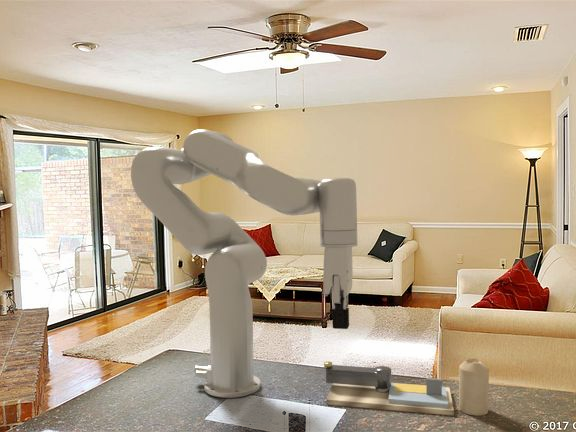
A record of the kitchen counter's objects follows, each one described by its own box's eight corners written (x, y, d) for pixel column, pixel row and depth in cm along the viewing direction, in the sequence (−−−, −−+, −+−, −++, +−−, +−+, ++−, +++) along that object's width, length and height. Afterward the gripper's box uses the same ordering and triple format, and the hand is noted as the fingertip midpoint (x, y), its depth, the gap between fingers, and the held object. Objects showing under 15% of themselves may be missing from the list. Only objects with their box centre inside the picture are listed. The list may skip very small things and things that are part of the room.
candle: (490, 417, 99) (491, 365, 98) (460, 414, 100) (461, 364, 99) (485, 405, 104) (486, 356, 103) (457, 403, 105) (457, 355, 105)
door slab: (388, 402, 103) (388, 383, 103) (390, 386, 112) (390, 368, 112) (448, 407, 100) (448, 387, 100) (445, 390, 109) (445, 372, 109)
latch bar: (391, 382, 111) (391, 364, 111) (390, 388, 108) (390, 370, 107) (325, 377, 115) (325, 359, 114) (322, 383, 111) (322, 365, 111)
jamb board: (326, 404, 105) (326, 399, 105) (334, 383, 117) (334, 378, 117) (453, 415, 99) (453, 410, 99) (449, 392, 111) (449, 387, 111)
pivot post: (374, 396, 109) (374, 388, 109) (375, 391, 112) (375, 382, 112) (390, 398, 108) (390, 389, 108) (390, 392, 111) (390, 383, 111)
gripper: (326, 235, 113) (328, 318, 113) (313, 242, 98) (316, 337, 99) (360, 235, 111) (362, 319, 112) (353, 242, 96) (355, 338, 97)
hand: (340, 327), depth 105 cm, fingers closed
